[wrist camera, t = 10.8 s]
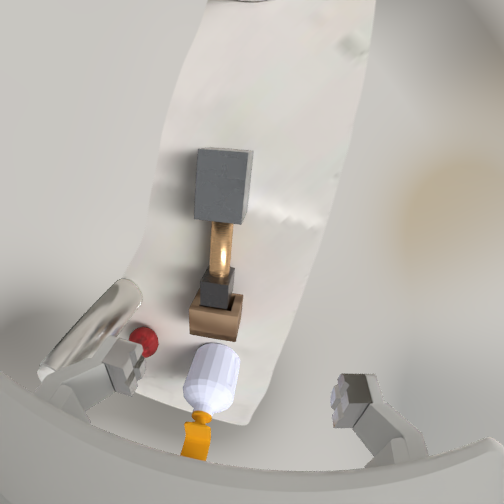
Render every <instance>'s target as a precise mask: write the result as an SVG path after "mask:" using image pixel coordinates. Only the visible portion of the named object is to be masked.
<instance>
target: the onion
mask: <svg viewBox="0 0 504 504" xmlns="http://www.w3.org/2000/svg"><path fill="white" fill-rule="evenodd" d="M129 341H131V342H135V343H138V344H141V345H142V347H143V352H142V356H143V357H144V358H146V357H149V356H151V355H153V354H154V353H155V352H156V350H157V348H158V345H159V344H158V337H157V335H156V333H155V332H154V331H153V330H152V329H150V328H147V327H140V328H137V329H135V330H134V331H133V332H132V333H131V334H130V337H129Z"/></svg>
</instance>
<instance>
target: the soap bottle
mask: <svg viewBox="0 0 504 504" xmlns="http://www.w3.org/2000/svg"><path fill="white" fill-rule="evenodd" d="M239 367H240V359H239V357H238V355H237V354H236V353H235V351H234V350H232V349H231V348H229V347H227V346H225V345H222V344H217V343H209V344H205V345H203V346H201V347H200V348H198V350H197V352H196V353H195V356H194V359H193V361H192V364H191V367H190V369H189V372H188V375H187V377H186V380H185V383H184V386H183V393H184V398H185V399H186V401H187V402H188V403H189V404H190V405H191V406H192V407H193V408H194V409H193V412H192V418H193V419H194V420H195V422H185V424H184V425H185V432H186V437H185V441H184V445H183V448H182V451H181V455H180V456H184V457H189V458H193V459H197V460H202V461H206V458H207V454H208V450H209V446H210V440H211V428H210V427H208V426H206V425H205V423H209V422H211V419H212V416H213V413H218V412H222V411H224V410H227V409H228V408H229V407H230V405H231V404H232V403H233V399H234V394H235V389H236V383H237V378H238V373H239Z"/></svg>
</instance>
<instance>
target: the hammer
mask: <svg viewBox="0 0 504 504" xmlns="http://www.w3.org/2000/svg"><path fill="white" fill-rule="evenodd" d="M232 234H233V224H232V223H224V222H216V221H212V227H211V246H210V265H209V267H208V268H207V270H206V272H205V274H204V276H203V278H202V280H201V284H200V305H204V306H208V308H214V309H220V310H227V308H228V304H229V301H230V298H231V295H232V291H233V283H234V271H235V268H231V267H230V259H231V247H232Z"/></svg>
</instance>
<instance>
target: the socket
mask: <svg viewBox="0 0 504 504" xmlns="http://www.w3.org/2000/svg"><path fill="white" fill-rule="evenodd" d="M242 302H243V295H240V294H233V293H232V295H231V298H230V301H229V304H228V308H227V310H220V309H214V308H208V306H204V305H200V288H199V290H198V292H197V294H196V296H195V298H194V300H193V302H192V304H191V306H190V308H189V327H190V334H192V335H197V336H203V337H208V338H214V339H220V340H226V341H232V342H236V338H237V333H238V329H239V324H240V320H241V311H242Z"/></svg>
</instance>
